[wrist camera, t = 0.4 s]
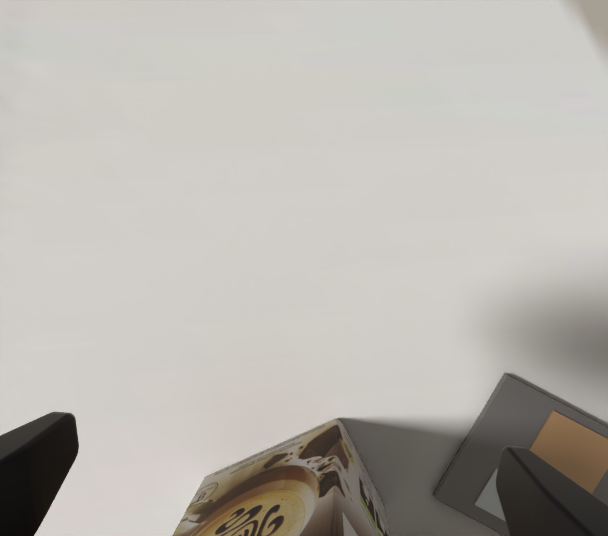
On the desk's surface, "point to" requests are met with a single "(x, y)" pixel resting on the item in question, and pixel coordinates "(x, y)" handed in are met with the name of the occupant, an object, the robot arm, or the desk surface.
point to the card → (532, 435)
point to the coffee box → (291, 492)
